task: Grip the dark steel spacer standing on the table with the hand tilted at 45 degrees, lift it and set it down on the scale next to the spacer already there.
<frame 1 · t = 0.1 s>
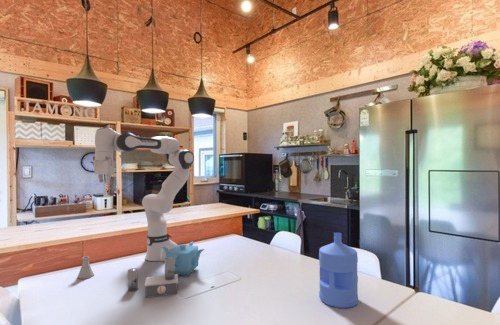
hand: (104, 182, 153), 48 cm above the table, tool pointing down, fingers open, 8 cm apart
water jug: (338, 300, 119), on the table
scale: (161, 291, 128), on the table
spacer 2: (132, 289, 131), on the table
flask: (85, 277, 146), on the table
teakettle: (183, 272, 152), on the table
spacer 1: (169, 278, 129), point 6 cm above the table, touching scale
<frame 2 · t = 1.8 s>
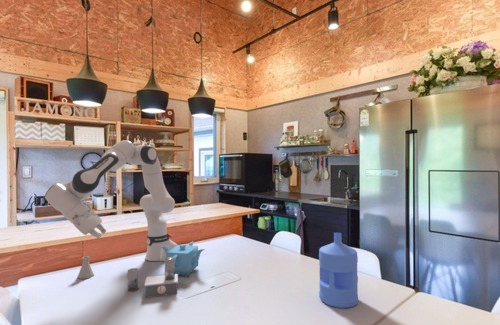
hand: (102, 234, 128), 26 cm above the table, tool tilted 45°, fingers open, 8 cm apart
nothing on the table moved.
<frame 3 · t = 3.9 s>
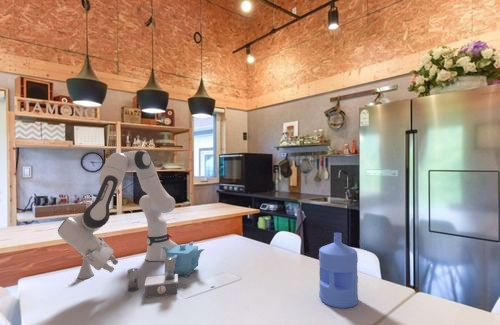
hand: (115, 267, 129), 11 cm above the table, tool tilted 45°, fingers open, 8 cm apart
nothing on the table moved.
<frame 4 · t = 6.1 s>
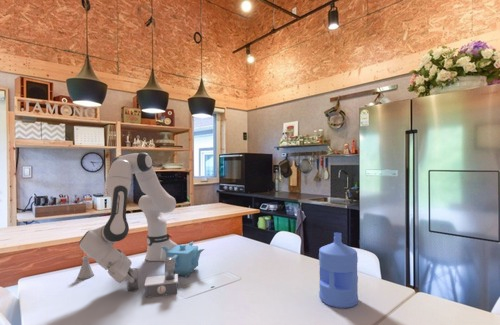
hand: (134, 278, 131), 5 cm above the table, tool tilted 45°, fingers closed on spacer 2, 4 cm apart
spacer 2: (132, 289, 131), on the table, touching gripper
everything else where it was.
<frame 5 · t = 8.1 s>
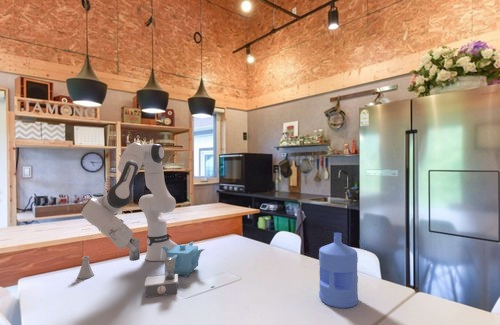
hand: (136, 247, 130), 19 cm above the table, tool tilted 45°, fingers closed on spacer 2, 4 cm apart
spacer 2: (134, 259, 130), point 14 cm above the table, touching gripper
everything else where it was.
when the fingers open (12 cm above the table, at t = 10.5 s): spacer 2 stays where it is, resting on scale.
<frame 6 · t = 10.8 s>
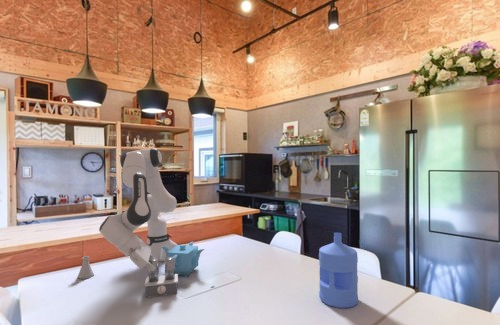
hand: (155, 265, 128), 12 cm above the table, tool tilted 45°, fingers open, 8 cm apart
spacer 2: (153, 280, 127), point 6 cm above the table, touching scale
everything else where it was.
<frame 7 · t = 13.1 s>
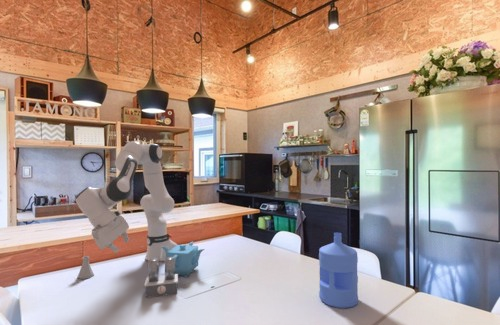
hand: (123, 246, 125), 22 cm above the table, tool tilted 35°, fingers open, 8 cm apart
nothing on the table moved.
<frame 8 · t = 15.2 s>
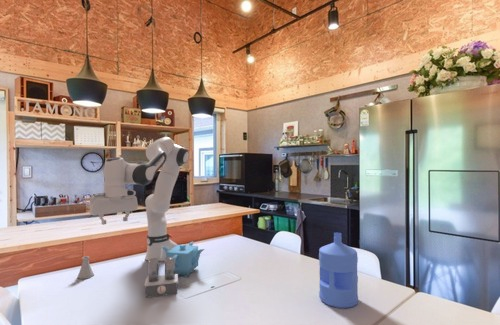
hand: (114, 222, 130), 31 cm above the table, tool pointing down, fingers open, 8 cm apart
nothing on the table moved.
at the end: spacer 2 inside the target area on the scale (3.6 cm from its centre), point 5.7 cm above the scale's base; spacer 2 tilted 2°; spacer 1 inside the target area on the scale (3.5 cm from its centre), point 5.6 cm above the scale's base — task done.
